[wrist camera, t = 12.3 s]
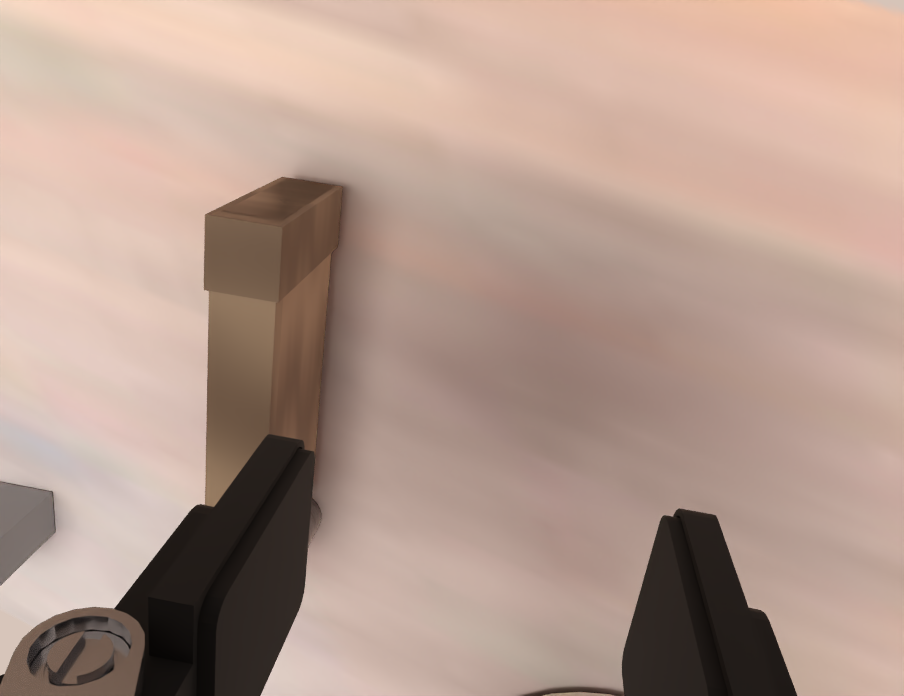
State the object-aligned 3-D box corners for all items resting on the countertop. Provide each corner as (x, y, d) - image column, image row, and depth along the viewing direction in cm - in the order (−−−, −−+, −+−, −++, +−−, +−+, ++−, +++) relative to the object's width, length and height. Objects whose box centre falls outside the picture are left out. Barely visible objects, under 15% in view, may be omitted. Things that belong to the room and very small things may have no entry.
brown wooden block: (316, 501, 29) (261, 608, 24) (265, 492, 30) (198, 596, 24) (342, 186, 25) (282, 227, 19) (282, 176, 25) (204, 214, 19)
